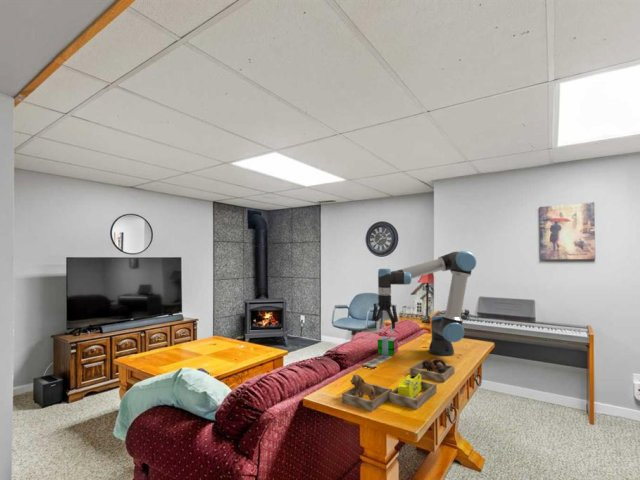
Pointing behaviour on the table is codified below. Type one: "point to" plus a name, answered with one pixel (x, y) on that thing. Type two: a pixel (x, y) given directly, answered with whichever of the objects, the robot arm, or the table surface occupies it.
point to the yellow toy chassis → (410, 386)
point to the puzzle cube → (389, 345)
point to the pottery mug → (434, 365)
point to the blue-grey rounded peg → (385, 348)
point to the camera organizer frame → (411, 402)
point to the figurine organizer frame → (351, 399)
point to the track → (375, 362)
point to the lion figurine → (362, 387)
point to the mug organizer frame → (432, 375)
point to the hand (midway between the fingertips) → (385, 333)
